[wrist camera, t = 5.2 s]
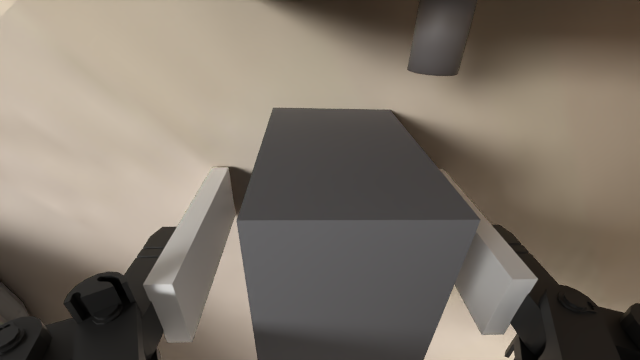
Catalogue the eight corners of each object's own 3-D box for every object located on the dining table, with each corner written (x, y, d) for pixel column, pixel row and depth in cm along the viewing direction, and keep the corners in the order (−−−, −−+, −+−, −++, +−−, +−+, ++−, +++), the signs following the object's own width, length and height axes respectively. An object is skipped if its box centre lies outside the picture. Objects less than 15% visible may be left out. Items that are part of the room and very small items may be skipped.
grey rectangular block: (280, 246, 16) (264, 403, 10) (273, 107, 12) (236, 220, 6) (367, 245, 16) (407, 398, 10) (389, 109, 12) (480, 219, 6)
